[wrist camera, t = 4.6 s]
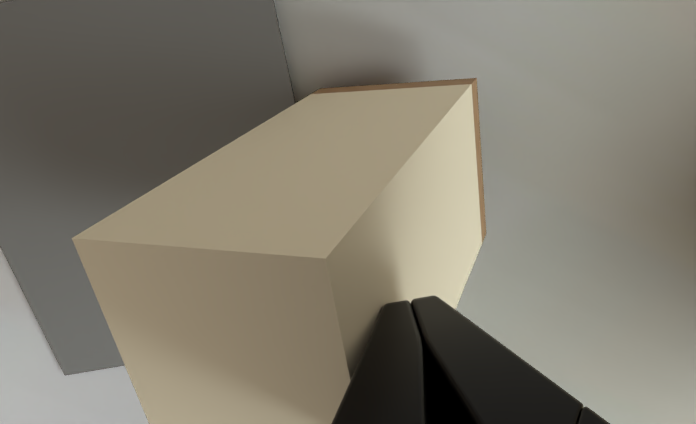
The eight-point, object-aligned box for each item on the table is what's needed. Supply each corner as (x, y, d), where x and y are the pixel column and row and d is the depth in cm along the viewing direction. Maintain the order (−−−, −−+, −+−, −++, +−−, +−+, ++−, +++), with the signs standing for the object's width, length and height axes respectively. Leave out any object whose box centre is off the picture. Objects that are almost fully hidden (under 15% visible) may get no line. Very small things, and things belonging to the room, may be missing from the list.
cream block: (476, 77, 14) (326, 258, 7) (486, 233, 16) (376, 506, 9) (320, 88, 16) (71, 238, 9) (345, 226, 18) (158, 444, 11)
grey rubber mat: (262, -48, 14) (262, -48, 14) (342, 324, 19) (343, 328, 19) (-106, 23, 15) (-111, 23, 14) (66, 371, 20) (64, 375, 19)
